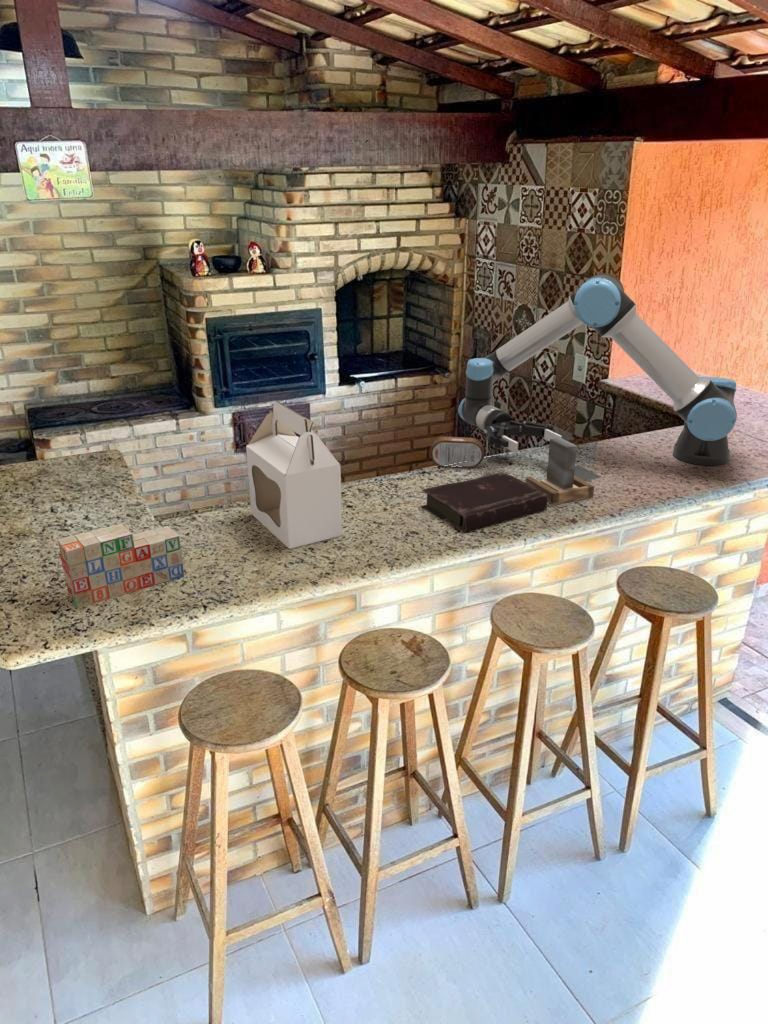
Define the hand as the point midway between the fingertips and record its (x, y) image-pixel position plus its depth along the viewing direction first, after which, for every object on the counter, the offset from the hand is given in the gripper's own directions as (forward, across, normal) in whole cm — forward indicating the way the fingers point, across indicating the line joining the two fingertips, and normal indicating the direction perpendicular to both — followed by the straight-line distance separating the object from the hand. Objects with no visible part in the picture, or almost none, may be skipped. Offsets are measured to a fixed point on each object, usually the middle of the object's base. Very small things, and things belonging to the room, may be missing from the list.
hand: (538, 444), depth 198 cm
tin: (-18, +14, -10) cm, 25 cm away
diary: (+9, +22, -11) cm, 26 cm away
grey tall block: (+10, 0, -9) cm, 14 cm away
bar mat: (+1, -12, -10) cm, 16 cm away
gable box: (0, +67, -10) cm, 68 cm away
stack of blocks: (+13, +106, -11) cm, 108 cm away
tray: (+10, 0, -10) cm, 14 cm away
